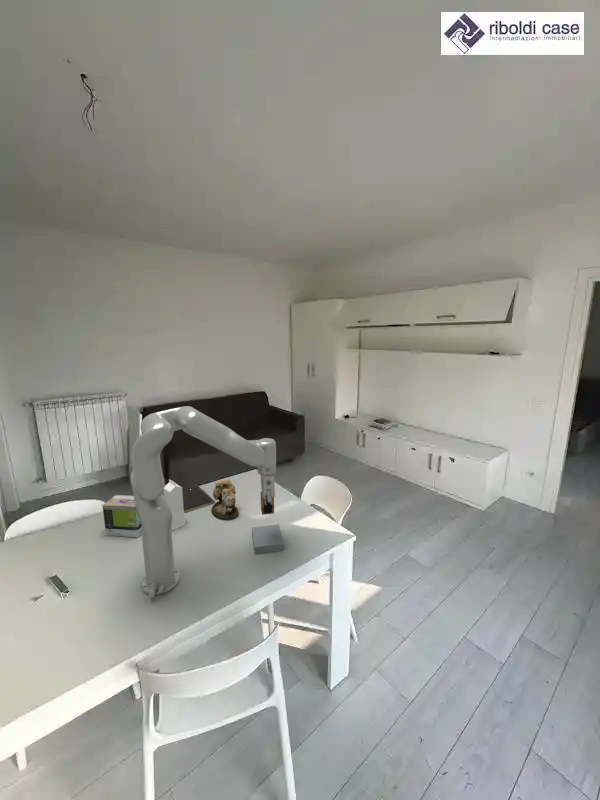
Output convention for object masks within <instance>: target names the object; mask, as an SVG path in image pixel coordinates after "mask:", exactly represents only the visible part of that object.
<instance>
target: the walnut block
mask: <svg viewBox="0 0 600 800" xmlns="http://www.w3.org/2000/svg"><path fill="white" fill-rule="evenodd" d="M266 497H267V496H266ZM271 497H272V496H271ZM266 501H267V499H266ZM264 504H265V499H264V498H263V494H262V490H261V491H260V512H261V516H264V515H273V514H275V498H272V513H264Z"/></svg>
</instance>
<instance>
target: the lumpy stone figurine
mask: <svg viewBox="0 0 600 800" xmlns="http://www.w3.org/2000/svg"><path fill="white" fill-rule="evenodd" d="M235 494H236V486H235V484H233V483H232V481H231V479H229V478H224V479H221V480H220V479H217V480H216V481H215V483H214V488H213V491H212V497H213V500H214V501H216V502H215V503H213V505H212V507H211V513H212V516H214V517H215V518H216V519H218V520H221V521H231V520H234V519H237V517H239V513H240V512H239V509H238V508H237V506H236V503H237V502H236V501H237V500H236V495H235Z"/></svg>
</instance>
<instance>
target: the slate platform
mask: <svg viewBox="0 0 600 800" xmlns="http://www.w3.org/2000/svg"><path fill="white" fill-rule="evenodd" d="M251 535H252V536H251V537H252V546H253V552H254V555H257V554H262V553H264V554H265V553H271V552H272V551H273V552H278V551H277V550H281V551H284V550H285V542H284V539H283V535H282V531H281V528H280V524H272V525H271V524H270V525H263V526H262V525H261V526H255V527H254V526H253V527H251ZM283 549H284V550H283Z"/></svg>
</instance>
